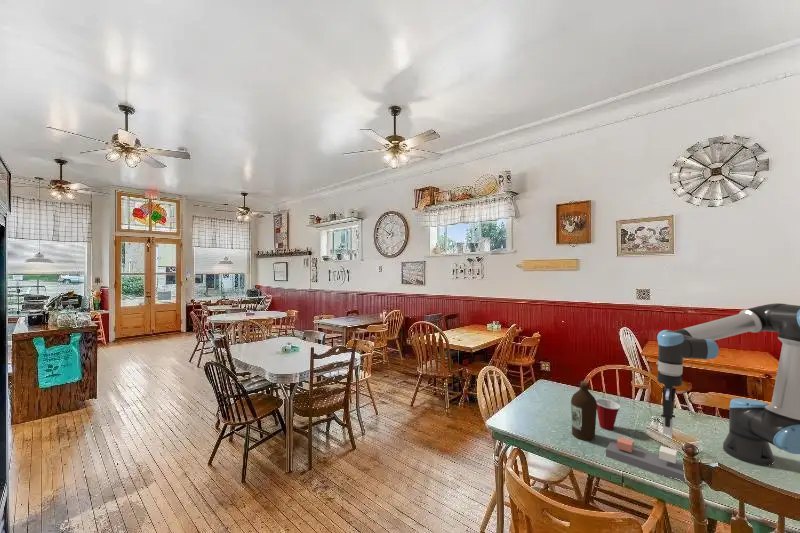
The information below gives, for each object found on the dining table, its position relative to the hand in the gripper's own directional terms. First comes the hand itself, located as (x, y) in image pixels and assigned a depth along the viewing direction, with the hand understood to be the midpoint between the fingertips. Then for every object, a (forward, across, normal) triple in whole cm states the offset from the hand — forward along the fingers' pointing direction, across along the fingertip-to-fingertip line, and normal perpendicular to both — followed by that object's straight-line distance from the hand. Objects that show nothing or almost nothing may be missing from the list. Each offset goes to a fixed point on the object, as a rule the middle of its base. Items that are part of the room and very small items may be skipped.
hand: (667, 433), depth 136 cm
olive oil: (+15, -7, -32) cm, 36 cm away
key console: (+15, 0, -7) cm, 16 cm away
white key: (+9, 0, 0) cm, 9 cm away
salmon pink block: (+11, 0, -14) cm, 17 cm away
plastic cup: (+15, -24, -26) cm, 38 cm away
